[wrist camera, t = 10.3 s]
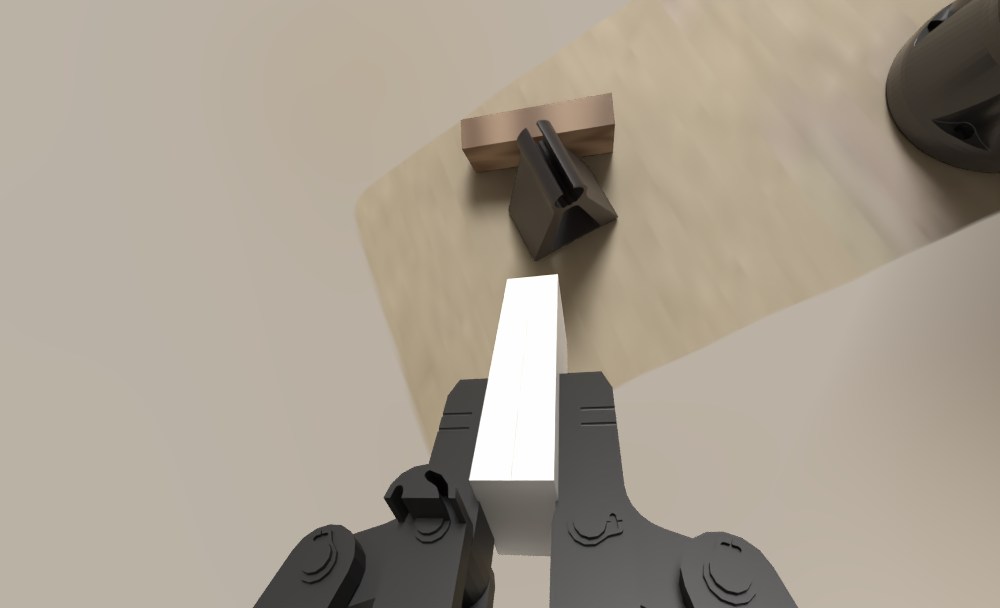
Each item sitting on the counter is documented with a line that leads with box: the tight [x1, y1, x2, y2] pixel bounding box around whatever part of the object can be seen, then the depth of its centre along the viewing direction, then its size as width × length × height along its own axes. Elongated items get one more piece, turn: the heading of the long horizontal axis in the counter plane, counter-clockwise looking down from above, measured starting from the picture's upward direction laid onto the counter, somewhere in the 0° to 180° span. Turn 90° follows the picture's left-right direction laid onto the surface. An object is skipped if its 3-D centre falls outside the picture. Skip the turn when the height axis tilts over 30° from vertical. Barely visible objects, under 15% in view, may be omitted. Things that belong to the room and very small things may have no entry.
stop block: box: [461, 93, 615, 173], centre depth 42 cm, size 14×3×5 cm, turn 93°
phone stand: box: [509, 120, 618, 261], centre depth 37 cm, size 9×6×12 cm, turn 115°
